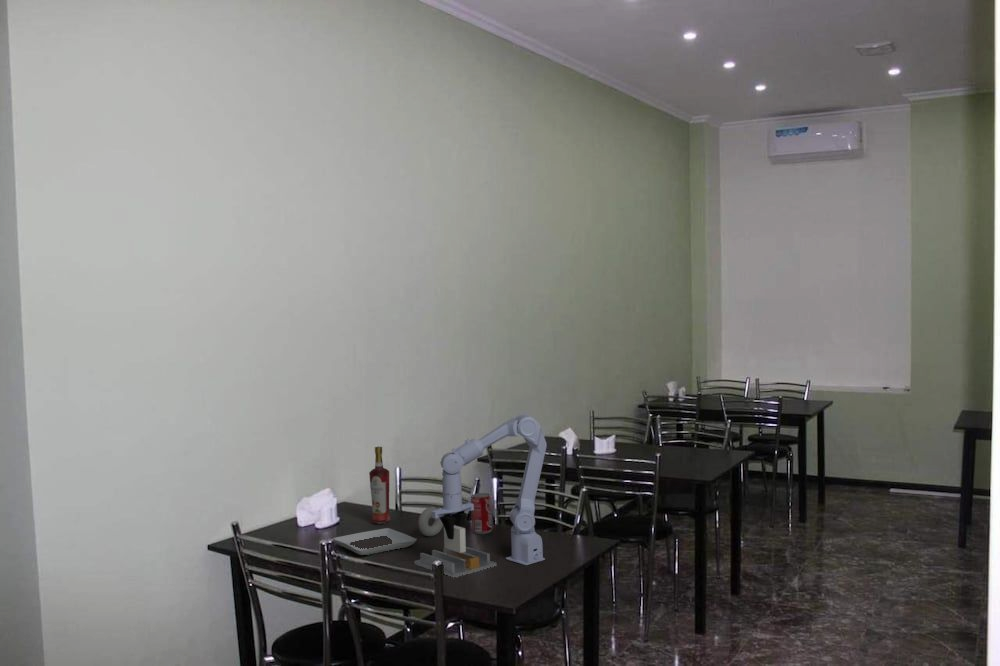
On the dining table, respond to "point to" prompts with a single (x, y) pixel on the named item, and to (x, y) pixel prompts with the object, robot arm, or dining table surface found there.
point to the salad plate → (397, 537)
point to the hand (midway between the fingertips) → (453, 537)
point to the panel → (456, 540)
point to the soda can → (481, 513)
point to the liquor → (379, 489)
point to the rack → (457, 561)
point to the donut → (424, 525)
